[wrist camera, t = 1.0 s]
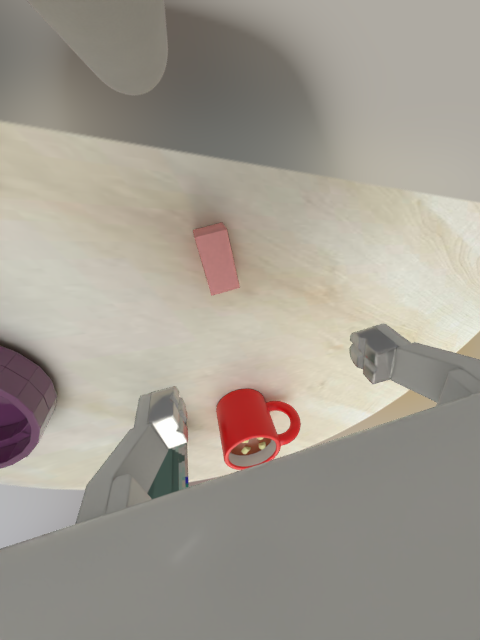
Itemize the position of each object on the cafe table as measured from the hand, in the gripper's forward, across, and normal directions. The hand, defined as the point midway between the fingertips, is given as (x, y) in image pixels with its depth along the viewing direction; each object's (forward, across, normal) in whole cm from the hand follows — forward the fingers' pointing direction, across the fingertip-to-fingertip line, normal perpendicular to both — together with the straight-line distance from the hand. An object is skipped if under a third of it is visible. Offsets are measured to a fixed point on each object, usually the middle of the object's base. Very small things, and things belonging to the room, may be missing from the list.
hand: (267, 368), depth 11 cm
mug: (+19, 0, +25) cm, 31 cm away
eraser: (+18, 0, 0) cm, 18 cm away
